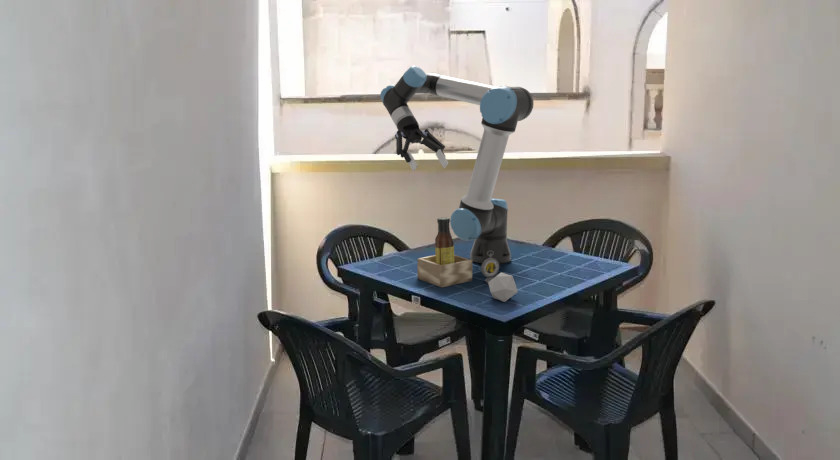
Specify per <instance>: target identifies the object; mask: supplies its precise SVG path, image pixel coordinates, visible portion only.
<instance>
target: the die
mask: <svg viewBox="0 0 840 460" xmlns="http://www.w3.org/2000/svg"><path fill="white" fill-rule="evenodd" d="M487 284H488V287H489V291H490V294H491V296H492V298H493V299H495V300H498V301H500V302H503V303H505V302H507V301H508V300H509V299H510V298H512V297H513V296H515V295H516V294H517V293H519V292H518V289H517V285H516V282H515V280H514V277H513V275H510V274H507V273H505V272H500V273H497V274H496V275H495V276H494V278H493V279H492V280H490V281H489V282H488V283H487Z"/></svg>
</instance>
